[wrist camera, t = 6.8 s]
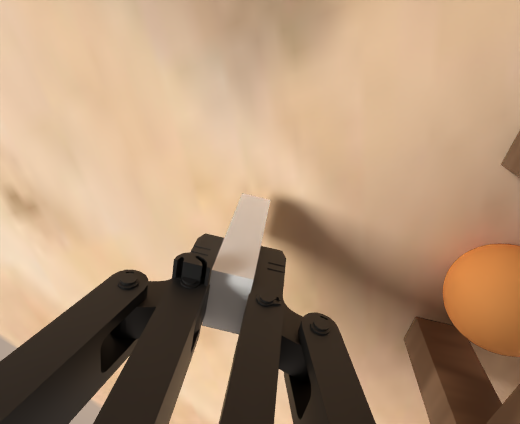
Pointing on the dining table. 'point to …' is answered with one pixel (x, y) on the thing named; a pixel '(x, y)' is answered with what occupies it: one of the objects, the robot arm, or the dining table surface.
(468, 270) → the ball
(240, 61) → the dining table surface
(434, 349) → the bridge
